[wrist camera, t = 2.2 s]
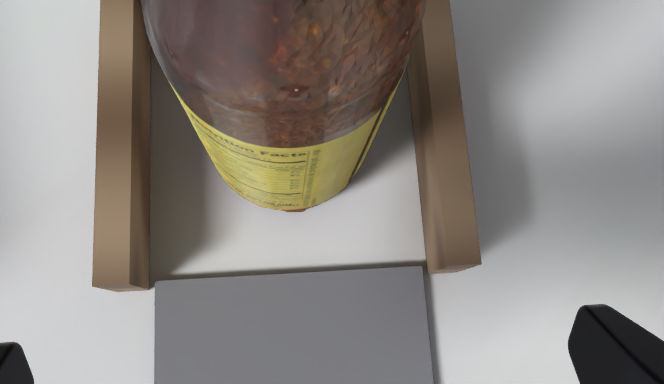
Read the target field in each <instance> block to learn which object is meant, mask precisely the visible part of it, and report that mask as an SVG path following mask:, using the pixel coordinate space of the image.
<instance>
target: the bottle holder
mask: <svg viewBox="0 0 664 384" xmlns="http://www.w3.org/2000/svg"><path fill="white" fill-rule="evenodd" d="M407 73H408V83H409V93H410V103H411V113H412V123H413V133H414V143H415V153H416V163H417V173H418V183H419V192H420V202H421V212H422V222H423V232H424V242H425V252H426V262H427V272H428V274H432V273H450V272H458V271H462V270H465V269H468V268H471V267H474V266H477V265H480V264H481V257H480V249H479V241H478V232H477V224H476V216H475V208H474V200H473V191H472V183H471V175H470V167H469V159H468V150H467V142H466V134H465V126H464V118H463V109H462V101H461V93H460V85H459V77H458V68H457V60H456V52H455V44H454V36H453V27H452V19H451V11H450V3H449V0H427V3H426V7H425V14H424V16H423V18H422V20H421V23H420V29H419V31H418V33H417V35H416V37H415V40H414V42H413V44H412V47H411V51H410V56H409V60H408V63H407ZM150 92H151V43H150V40H149V38H148V35H147V31H146V27H145V22H144V17H143V11H142V5H141V0H100V35H99V70H98V104H97V139H96V173H95V208H94V242H93V277H92V286H93V287H97V288H102V289H107V290H111V291H116V292H122V291H140V290H149V234H150Z"/></svg>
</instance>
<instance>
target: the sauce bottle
mask: <svg viewBox="0 0 664 384" xmlns="http://www.w3.org/2000/svg"><path fill="white" fill-rule="evenodd" d="M426 3H427V0H141V5H142V11H143V17H144V22H145V27H146V31H147V35H148V38H149V40H150V43H151V46H152V48H153V51H154V54H155V56H156V58H157V60H158V62H159V64H160V66H161V68H162V70H163V72H164V74H165V76H166V77H167V79H168V81H169V83H170V85H171V87H172V88H173V90H174V92H175V94H176V95H177V97H178V99H179V101H180V102H181V104H182V106H183V108H184V109H185V111H186V113H187V115H188V117H189V119H190V121H191V123H192V125H193V127H194V129H195V131H196V132H197V134H198V136H199V138H200V140H201V141H202V143H203V145H204V147H205V148H206V150H207V152H208V154H209V156H210V158H211V160H212V162H213V164H214V166H215V167H216V169H217V171H218V172H219V174H220V175H221V176H222V178H223V179H224V180H225V181H226V183H227V184H228V185H229V186H230V187H231V188H232V189H233V190H234V191H236V192H237V193H238V194H239V195H241V196H242V197H243V198H245V199H247V200H249V201H251V202H252V203H254V204H256V205H258V206H261V207H266V208H271V209H277V210H283V211H286V212H303V211H305V210H306V209H308V208H311V207H314V206H317V205H319V204H321V203H323V202H325V201H327V200H328V199H330V198H332V197H333V196H335V195H336V194H338V193H339V192H340V191H341V190H343V189H344V188H345V187H346V186H347V185H348V183H349V182H350V180H351V178H352V177H354V176H355V174H356V173H357V171H358V170H359V168H360V166H361V164H362V162H363V161H364V159H365V156H366V154H367V152H368V150H369V148H370V146H371V144H372V142H373V139H374V137H375V135H376V133H377V131H378V128H379V126H380V124H381V122H382V120H383V118H384V115H385V113H386V111H387V109H388V107H389V105H390V103H391V100H392V98H393V96H394V94H395V91H396V89H397V87H398V85H399V83H400V81H401V79H402V76H403V74H404V72H405V69H406V66H407V63H408V60H409V56H410V51H411V47H412V44H413V42H414V40H415V37H416V35H417V33H418V31H419V29H420V23H421V20H422V18H423V16H424V14H425V7H426Z"/></svg>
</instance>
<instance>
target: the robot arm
mask: <svg viewBox="0 0 664 384" xmlns="http://www.w3.org/2000/svg"><path fill="white" fill-rule="evenodd" d="M568 350H569V354H570V357H571V360H572V363H573V365H574V368H575V371H576V374H577V376H578V379H579V382H580V384H664V341H663V340H661V339H660V338H658V337H657V336H655V335H654V334H652V333H650V332H649V331H647V330H646V329H644V328H643V327H641V326H639V325H638V324H636V323H635V322H633V321H632V320H630V319H629V318H627V317H625V316H624V315H622V314H621V313H619V312H618V311H616V310H615V309H613V308H611V307H610V306H608V305H604V304H596V305H584V306H582V307H580V309H579V310H578V312H577V315H576V318H575V321H574V324H573V327H572V330H571V333H570V336H569V340H568ZM0 384H34V379H33V375H32V373H31V370H30V367H29V365H28V362H27V360H26V357H25V354H24V352H23V349H22V347H21V346H20V345H19V344H18V343H16V342H5V343H0Z"/></svg>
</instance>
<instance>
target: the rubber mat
mask: <svg viewBox="0 0 664 384" xmlns="http://www.w3.org/2000/svg"><path fill="white" fill-rule="evenodd" d="M154 384H434V382H433V372H432V361H431V351H430V341H429V331H428V321H427V311H426V301H425V291H424V280H423V270H422V266H410V267H393V268H375V269H357V270H340V271H322V272H304V273H287V274H269V275H251V276H234V277H216V278H198V279H181V280H163V281H155V366H154Z"/></svg>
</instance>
